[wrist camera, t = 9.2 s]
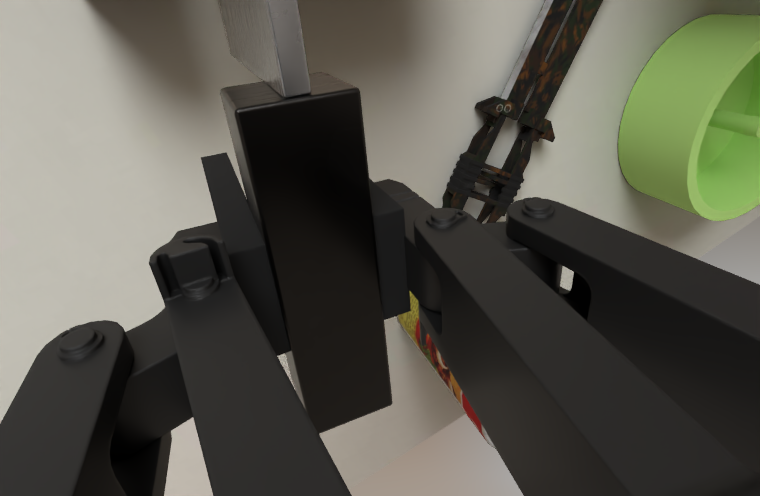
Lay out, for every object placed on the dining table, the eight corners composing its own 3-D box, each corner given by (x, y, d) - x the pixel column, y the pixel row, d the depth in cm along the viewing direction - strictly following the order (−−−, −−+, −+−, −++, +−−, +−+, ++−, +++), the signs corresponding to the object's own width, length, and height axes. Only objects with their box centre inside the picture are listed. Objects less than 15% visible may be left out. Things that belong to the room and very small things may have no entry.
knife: (613, -157, 27) (633, -164, 26) (668, -85, 30) (688, -88, 29) (411, 225, 33) (420, 233, 32) (475, 249, 37) (485, 257, 36)
